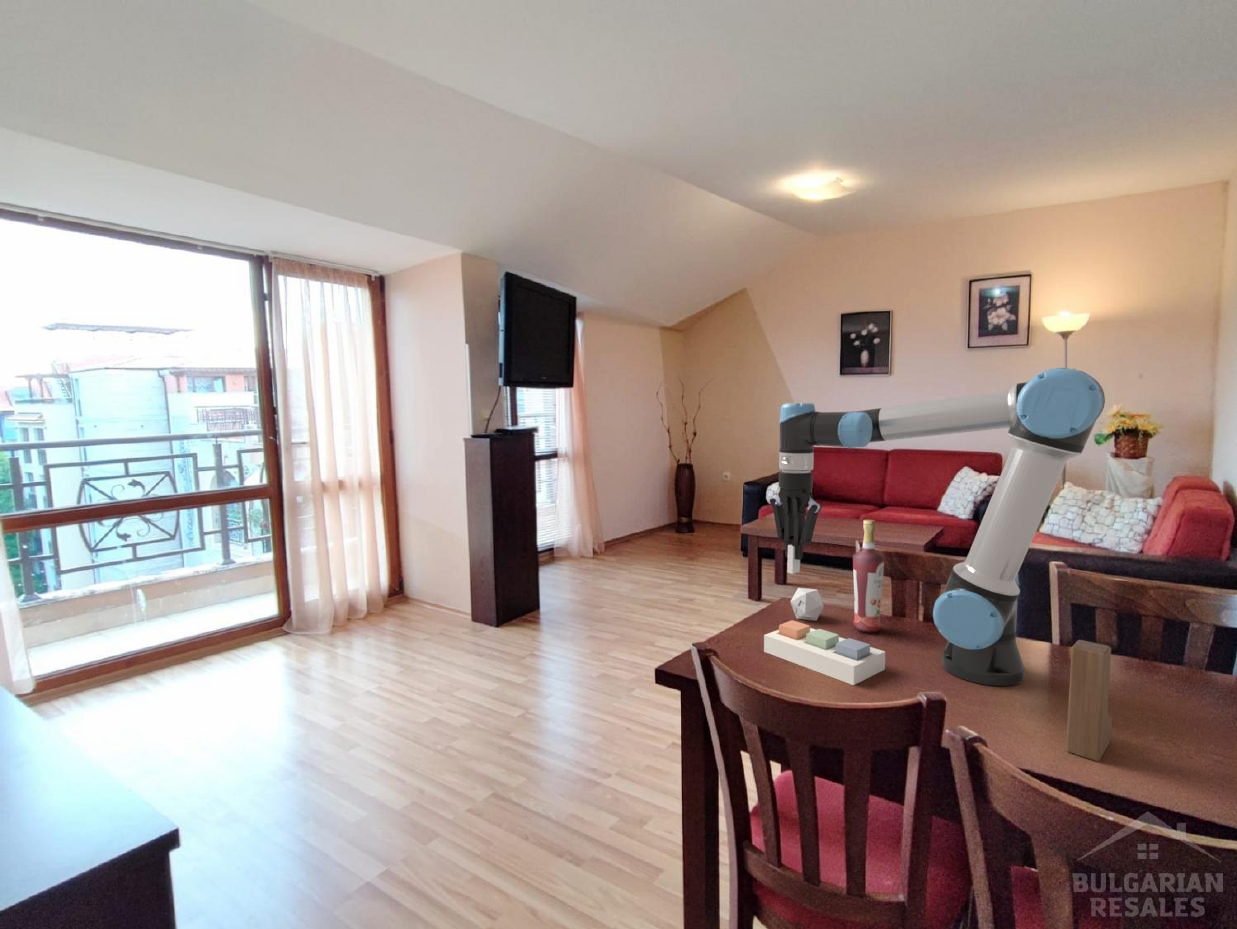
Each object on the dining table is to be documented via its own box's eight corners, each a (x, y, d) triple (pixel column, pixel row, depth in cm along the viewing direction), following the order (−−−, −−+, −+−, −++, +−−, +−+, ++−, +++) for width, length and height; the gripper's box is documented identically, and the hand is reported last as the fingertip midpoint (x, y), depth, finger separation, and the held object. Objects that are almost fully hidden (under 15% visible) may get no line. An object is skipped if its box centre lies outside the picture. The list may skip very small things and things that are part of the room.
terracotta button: (810, 638, 147) (810, 625, 147) (796, 643, 144) (796, 630, 143) (792, 632, 151) (792, 620, 150) (778, 637, 148) (779, 625, 147)
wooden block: (1078, 732, 110) (1084, 631, 108) (1111, 742, 106) (1117, 638, 105) (1065, 752, 104) (1071, 645, 102) (1099, 763, 100) (1105, 653, 99)
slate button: (869, 658, 135) (870, 644, 135) (856, 664, 132) (857, 650, 132) (848, 651, 139) (848, 638, 139) (835, 657, 136) (835, 643, 136)
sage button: (838, 647, 141) (838, 634, 141) (825, 653, 138) (825, 640, 138) (819, 641, 145) (819, 628, 145) (806, 646, 142) (806, 633, 142)
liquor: (874, 637, 155) (876, 524, 152) (846, 629, 160) (848, 520, 158) (887, 629, 160) (890, 520, 157) (859, 622, 165) (862, 516, 162)
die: (785, 615, 174) (782, 594, 167) (807, 596, 176) (805, 575, 170) (809, 633, 168) (807, 612, 162) (831, 613, 171) (829, 592, 164)
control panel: (884, 669, 136) (885, 651, 136) (853, 685, 129) (853, 666, 129) (795, 639, 154) (796, 623, 154) (764, 651, 147) (764, 635, 147)
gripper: (762, 469, 146) (760, 569, 149) (810, 474, 136) (807, 581, 139) (782, 467, 151) (780, 563, 153) (830, 472, 141) (827, 575, 143)
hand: (793, 572), depth 146 cm, fingers closed
